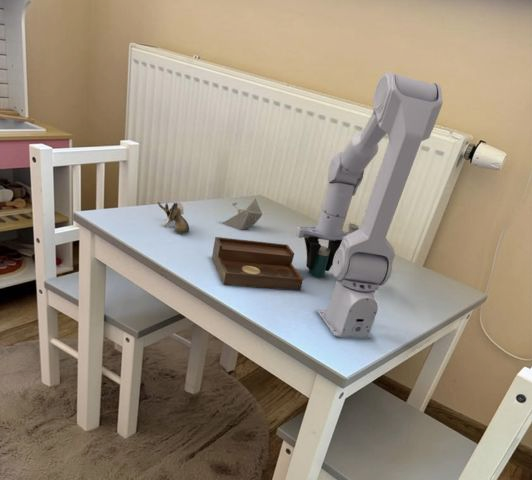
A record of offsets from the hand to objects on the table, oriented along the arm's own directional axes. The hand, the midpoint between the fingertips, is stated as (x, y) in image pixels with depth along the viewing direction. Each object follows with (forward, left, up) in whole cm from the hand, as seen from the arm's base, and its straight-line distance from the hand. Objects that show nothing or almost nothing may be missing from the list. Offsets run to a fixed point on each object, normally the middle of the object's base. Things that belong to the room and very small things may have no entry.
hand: (317, 268), depth 120 cm
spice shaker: (0, 0, -1) cm, 1 cm away
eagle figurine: (+21, +31, -2) cm, 37 cm away
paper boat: (+29, +11, -2) cm, 31 cm away
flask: (+9, -11, -2) cm, 14 cm away
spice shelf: (-3, +16, -1) cm, 16 cm away
